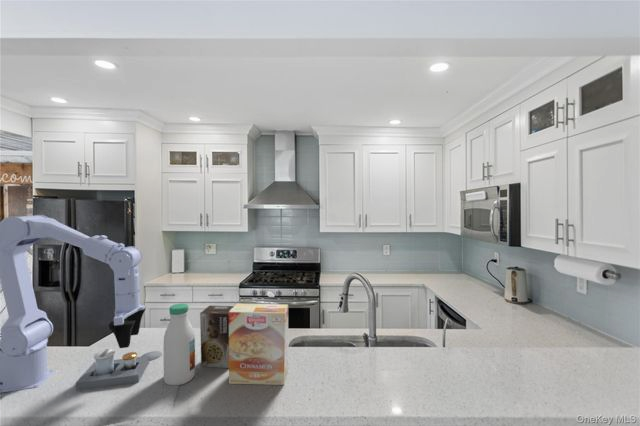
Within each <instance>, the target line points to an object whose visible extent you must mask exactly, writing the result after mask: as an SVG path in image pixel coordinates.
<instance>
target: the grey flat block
mask: <svg viewBox="0 0 640 426" xmlns="http://www.w3.org/2000/svg"><path fill="white" fill-rule="evenodd" d="M149 364H150V361H149V356H144V357H141V356H138V357H137V356H136V368H135V369H132V370H124V369H123V359H122V358H120V359H118V358H117V359H114V372H113V373H112V374H105V375H97V376H96V361H94V362H93V363H92V364H91V365H90V366H89V367H88V368H87V369H86V371H85V372H84V373H83V374H82V375H81V376H80V378H78V379H77V381H76V382H75V391H76V392H77V391H84V390H86V391H87V390H92V389H93V390H94V389H99V388H106V387H114V386H121V385H128V384H129V385H130V384H137V383H140V381H141V379H142V377H143V375H144V373H145V371H146V369H147V368H148V366H149Z"/></svg>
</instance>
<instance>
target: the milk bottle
mask: <svg viewBox="0 0 640 426" xmlns="http://www.w3.org/2000/svg"><path fill="white" fill-rule="evenodd" d="M188 314H189V304H188V303H176V304H175V303H174V304H173V305H171V306H169V316H170V319H169V323H168V325H167V328H166V330H165V333H164V335H163V382H164V383H165V384H167V385H168V386H182V385H185V384H187V383H189V382H190V381H192V379H194V377H195V375H196V344H195V343H196V341H195V340H196V339H195V331H194V328H193V326H192V323H191V322H190V319H189V317H188Z"/></svg>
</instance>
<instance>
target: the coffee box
mask: <svg viewBox="0 0 640 426" xmlns="http://www.w3.org/2000/svg"><path fill="white" fill-rule="evenodd" d="M234 306H235V305H209V306H208V305H207V307H205V309H203V310H202V311H201V312H200V313H199V322H200V324H199V326H200V367H202V368H203V367H205V368H206V367H207V368H223V369H225V368H227V369H229V311H230V310H231V309H232V308H233V307H234Z"/></svg>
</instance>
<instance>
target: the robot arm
mask: <svg viewBox="0 0 640 426" xmlns="http://www.w3.org/2000/svg"><path fill="white" fill-rule="evenodd" d="M45 238H52V239H54V240H57V241H60V242H63V243H66V244H69V245H72V246H74V247H78V248H80V249H82V252H83V254H84V256H87V257H90V258H93V259H94V260H98V261H100V262H103V263H104V264H108V265H109V268H110V269H111V270H112V271H113V276H114V277H113V279H114V301H115V305H114V307H115V309H114V317H113V321H111V322H110V323H109V324H108V328H109V330H110V331H111V332H112V333H113V335H114V337H115V339H116V341H117V342H116V343H117V345H118V347H119V349H125V348H129V347H130V345H131V337H132V336H138V335H139V333H140V330H141V329H140V328H141V324H142V323H141V322H142V319H143V316H144V313H145V311H146V305H144V304H143V305H142V304H141V294H140V293H141V292H140V269H139V268H140V267H139V266H140V265H139V264H140V263H141V262H142V259H143V255H142V252H141V251H140V249H138V247H137V248H136V247H135V246H133V245H131V246H126V247H125V244H124V243H121V242H120V243H118V242H115V241H113V240H110V239H108V236H107V235H103V234H102V235H98V234H97V235H94V236H89V235H87V234H84V233H82V232H80V231H78V230H76V229H74V228H72V227H70V226H68V225H65V224H64V223H61V222H59V221H58V220H56V219H55V218H52V217H48V216H46V215H43V214H35V215H26V216H25V215H24V216H22V215H21V216H12V215H11V216H8V217H5V218H2V220H1V221H0V285H1V289H2V294H3V297H4V302H5V306H6V311H7V314H8V315H7V316H8V318H7V319H6V320H5V321H4V323H3V325H2V326H1V328H0V333H1V336H0V349H1V351H2V352H1V353H0V394H1V393H10V392H12V391H21V390H28V389H36V388H39V387H41V385H42V384H44V383H45V382H46V381H47V380H48V379H49V378H50V377H51V376H53V374H55V372H56V369H48V342H49V338H50V336H52V334H53V332H54V324H53V323H52V321H51V320H50V319H49V317H48V315H47V312H46V311H44V310H41V309H40V308H38V304H37V299H36V295H35V291H34V287H33V282H32V277H31V272H30V268H29V263H28V260H27V256H26V252H27V251H28V250H29V249H30V248H31V247H32V246H33V245H34V244H36V242H39V241H40V240H42V239H45Z"/></svg>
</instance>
